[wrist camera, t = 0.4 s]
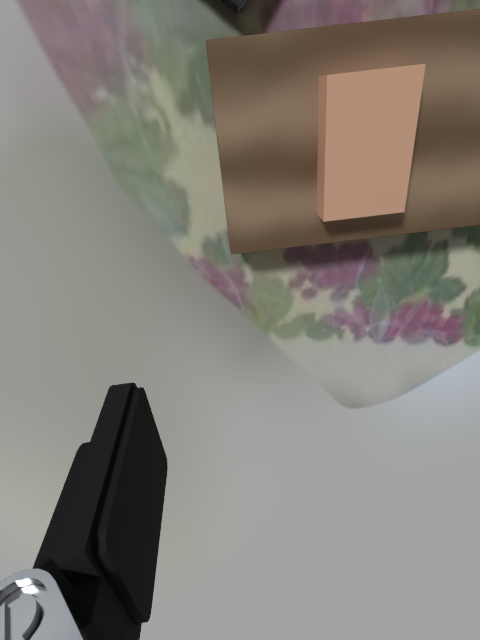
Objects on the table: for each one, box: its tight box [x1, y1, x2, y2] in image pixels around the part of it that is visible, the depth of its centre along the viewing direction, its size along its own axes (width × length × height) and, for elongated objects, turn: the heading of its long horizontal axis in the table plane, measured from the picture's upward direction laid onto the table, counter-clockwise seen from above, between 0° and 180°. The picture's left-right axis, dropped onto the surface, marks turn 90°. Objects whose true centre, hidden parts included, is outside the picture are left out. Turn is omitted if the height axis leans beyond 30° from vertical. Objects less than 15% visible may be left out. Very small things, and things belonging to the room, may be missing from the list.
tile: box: [317, 64, 426, 222], centre depth 25 cm, size 9×6×2 cm, turn 6°
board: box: [206, 9, 480, 254], centre depth 28 cm, size 14×22×4 cm, turn 96°
